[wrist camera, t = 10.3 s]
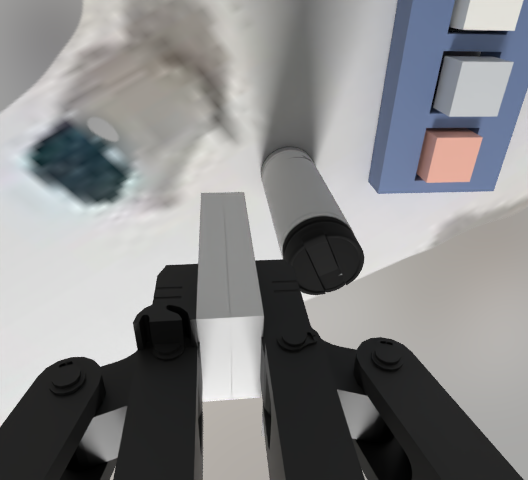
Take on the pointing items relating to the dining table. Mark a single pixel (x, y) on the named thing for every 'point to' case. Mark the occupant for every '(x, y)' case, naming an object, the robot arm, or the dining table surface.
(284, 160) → the travel mug
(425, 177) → the key coral
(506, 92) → the board
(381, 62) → the dining table surface
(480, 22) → the key ivory
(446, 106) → the key grey
